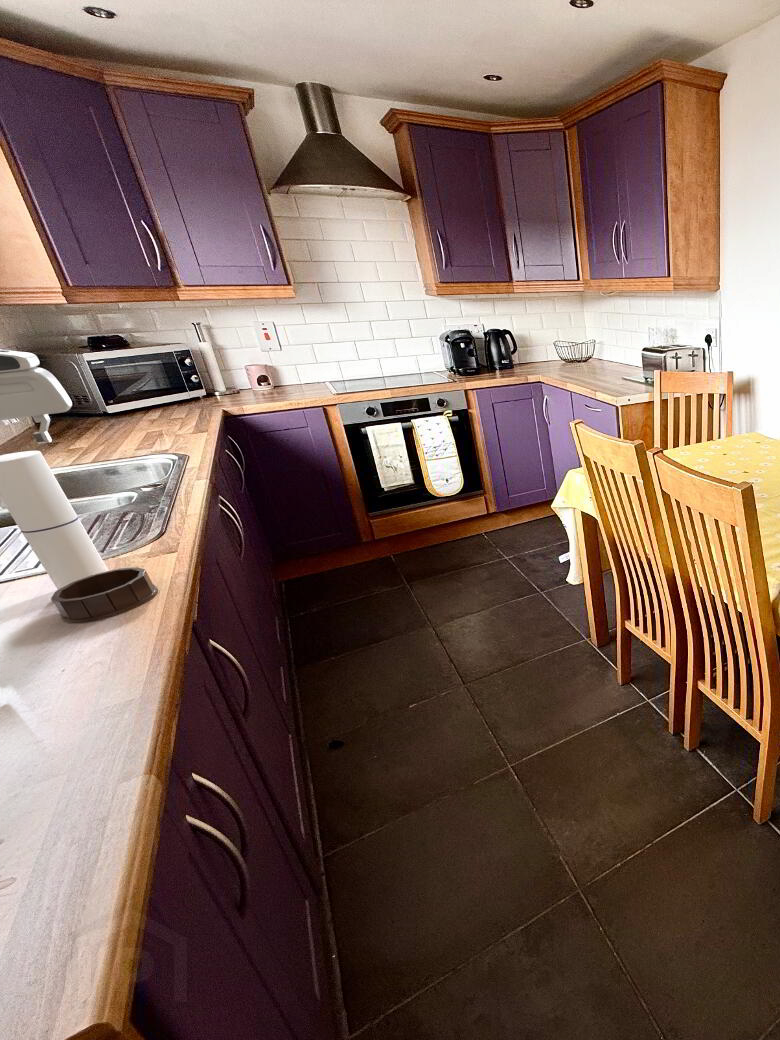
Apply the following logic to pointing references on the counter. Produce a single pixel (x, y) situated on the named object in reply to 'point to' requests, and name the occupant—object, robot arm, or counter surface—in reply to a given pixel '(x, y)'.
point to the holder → (104, 595)
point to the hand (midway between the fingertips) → (5, 448)
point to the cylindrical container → (47, 518)
